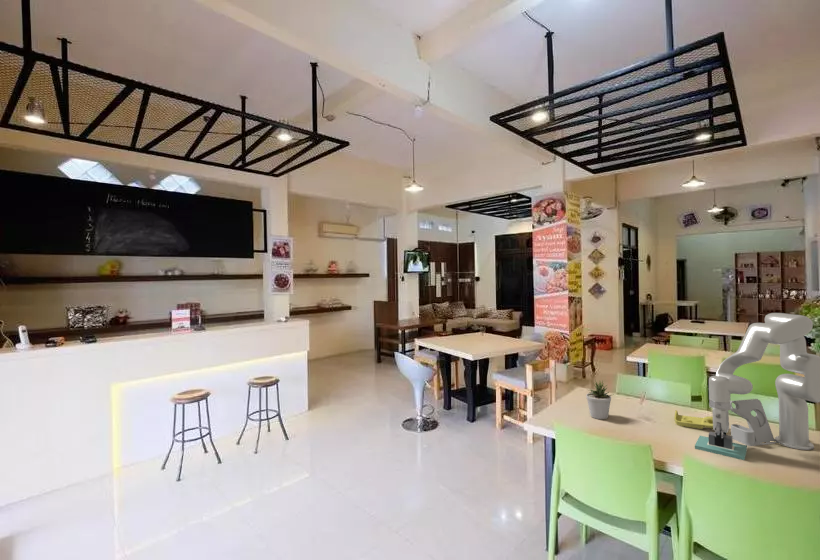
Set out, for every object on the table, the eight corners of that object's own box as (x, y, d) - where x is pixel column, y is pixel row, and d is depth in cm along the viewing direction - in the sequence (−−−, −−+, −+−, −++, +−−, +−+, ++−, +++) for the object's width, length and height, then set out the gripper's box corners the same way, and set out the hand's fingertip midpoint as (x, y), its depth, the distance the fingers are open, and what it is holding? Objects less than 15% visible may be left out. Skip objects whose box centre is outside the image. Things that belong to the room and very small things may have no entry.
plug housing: (710, 441, 178) (709, 431, 178) (732, 446, 173) (732, 436, 173) (708, 444, 175) (708, 434, 175) (731, 449, 169) (731, 439, 169)
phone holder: (748, 446, 175) (747, 407, 175) (727, 437, 185) (726, 400, 185) (782, 443, 177) (781, 404, 177) (759, 434, 187) (758, 397, 187)
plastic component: (673, 421, 201) (675, 407, 208) (676, 432, 203) (678, 418, 210) (722, 427, 188) (722, 413, 194) (724, 439, 190) (724, 424, 197)
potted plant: (618, 420, 210) (617, 383, 210) (592, 421, 210) (591, 384, 210) (607, 412, 222) (606, 377, 222) (582, 413, 223) (581, 378, 222)
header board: (699, 438, 185) (699, 430, 185) (747, 448, 173) (746, 440, 173) (694, 448, 175) (694, 439, 175) (744, 460, 163) (744, 450, 163)
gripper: (728, 411, 165) (729, 451, 165) (732, 401, 177) (733, 438, 177) (706, 407, 170) (707, 446, 170) (711, 397, 182) (712, 434, 183)
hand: (720, 442), depth 174 cm, fingers open, 9 cm apart
